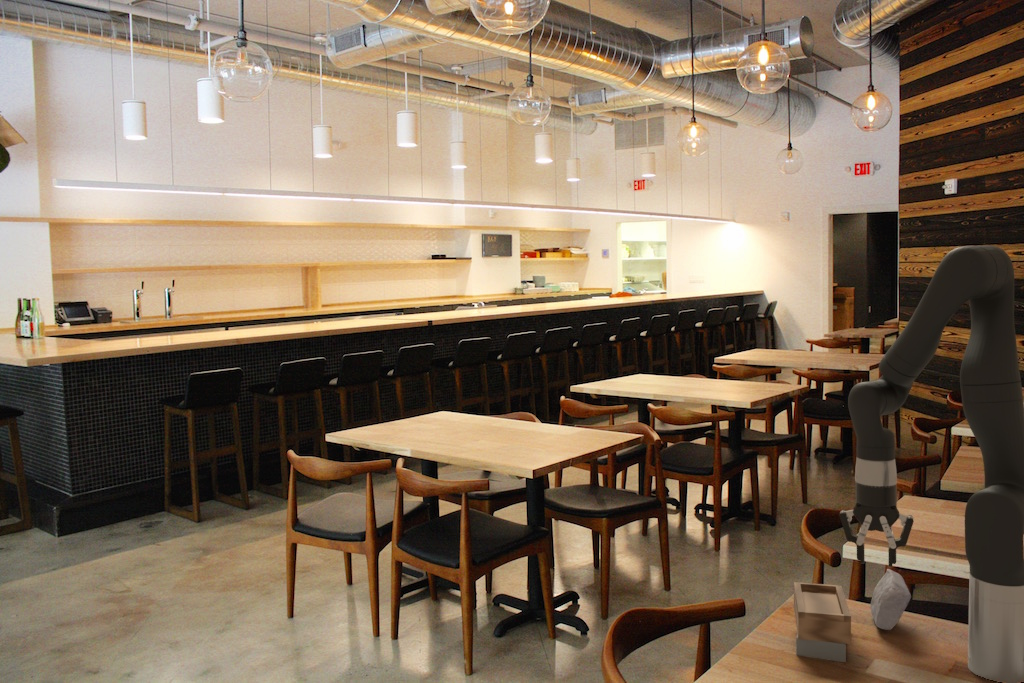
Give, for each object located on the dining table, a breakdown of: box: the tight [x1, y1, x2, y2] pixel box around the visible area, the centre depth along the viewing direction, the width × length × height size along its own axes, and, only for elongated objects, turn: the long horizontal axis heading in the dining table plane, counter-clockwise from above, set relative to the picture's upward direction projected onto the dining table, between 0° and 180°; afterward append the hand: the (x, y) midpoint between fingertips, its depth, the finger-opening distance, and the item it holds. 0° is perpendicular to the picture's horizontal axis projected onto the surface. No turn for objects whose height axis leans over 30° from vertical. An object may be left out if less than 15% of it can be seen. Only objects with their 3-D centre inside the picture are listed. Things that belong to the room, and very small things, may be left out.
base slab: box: [795, 632, 847, 663], centre depth 155 cm, size 8×15×4 cm, turn 157°
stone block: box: [869, 568, 912, 631], centre depth 162 cm, size 12×5×10 cm, turn 161°
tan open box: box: [793, 581, 852, 645], centre depth 155 cm, size 9×15×5 cm, turn 164°
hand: (876, 563), depth 162 cm, fingers open, 4 cm apart
